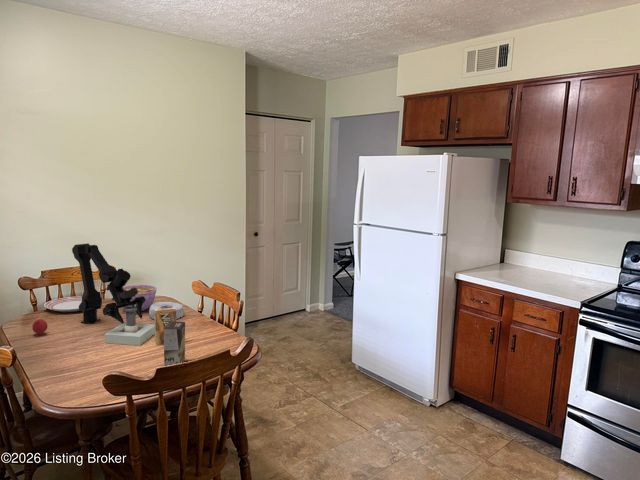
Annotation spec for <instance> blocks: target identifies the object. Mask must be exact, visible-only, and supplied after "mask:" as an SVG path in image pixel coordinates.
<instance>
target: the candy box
mask: <svg viewBox="0 0 640 480" xmlns="http://www.w3.org/2000/svg"><path fill="white" fill-rule="evenodd" d="M169 322H177V319H176V309H175V307H174V308H162V309H155V319H154V325H155V334H154V342H155V345H161V344H164V328H165V327H166V326H167V325H168V324H169Z"/></svg>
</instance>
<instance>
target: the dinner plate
mask: <svg viewBox="0 0 640 480" xmlns="http://www.w3.org/2000/svg"><path fill="white" fill-rule="evenodd" d="M81 302H82V295H81V296H79V295H77V296H68V297H62V298H61V297H60V298H55V299H52V300H49V301H47V302H45V303H43V304H44V305H43V306H44V308H45V309H48V310H50V311H55V312H60V313H74V312H81V311H80V310H79V305H80V303H81Z"/></svg>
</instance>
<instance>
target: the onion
mask: <svg viewBox="0 0 640 480" xmlns="http://www.w3.org/2000/svg"><path fill="white" fill-rule="evenodd" d="M31 327H32V328H31V329H32V331H33V332H34V334H37V335H39V336H40V335H43V334H44V333H45V332H46V331H47V330H48V323H47V322H46V321H45V320H43V319H42V317H39V318H37V320H35V321H34V322H33V324H32V326H31Z"/></svg>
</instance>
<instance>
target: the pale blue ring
mask: <svg viewBox="0 0 640 480" xmlns="http://www.w3.org/2000/svg"><path fill="white" fill-rule="evenodd" d="M174 307H175V309H176V320H177V319H181V318H182V317H184V314H185V312H184V306H183V305H182V304H181V303H177V302H173V301H158V302H155V303H154V302H153V304H152V305H151V306H150V307H149V310H148V311H149V312H148V313H149V316H150V318H151V319H153V320H155V309H162V308H174ZM180 317H181V318H180Z"/></svg>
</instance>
